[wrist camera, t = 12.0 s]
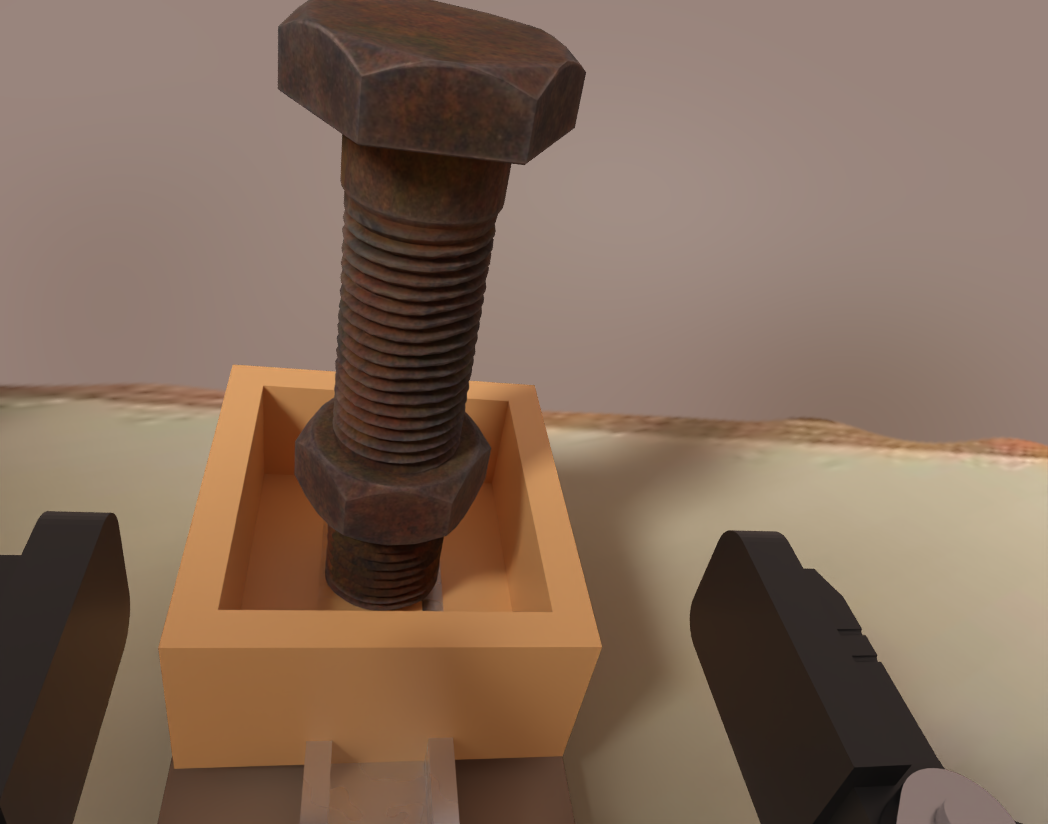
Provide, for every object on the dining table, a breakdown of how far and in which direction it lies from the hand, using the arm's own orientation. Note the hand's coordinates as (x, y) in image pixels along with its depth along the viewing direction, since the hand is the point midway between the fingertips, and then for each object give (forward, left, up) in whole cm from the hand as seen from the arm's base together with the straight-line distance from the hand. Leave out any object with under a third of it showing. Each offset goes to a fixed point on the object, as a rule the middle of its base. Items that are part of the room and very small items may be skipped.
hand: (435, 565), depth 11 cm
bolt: (0, +9, -10) cm, 13 cm away
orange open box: (0, +9, -11) cm, 14 cm away
